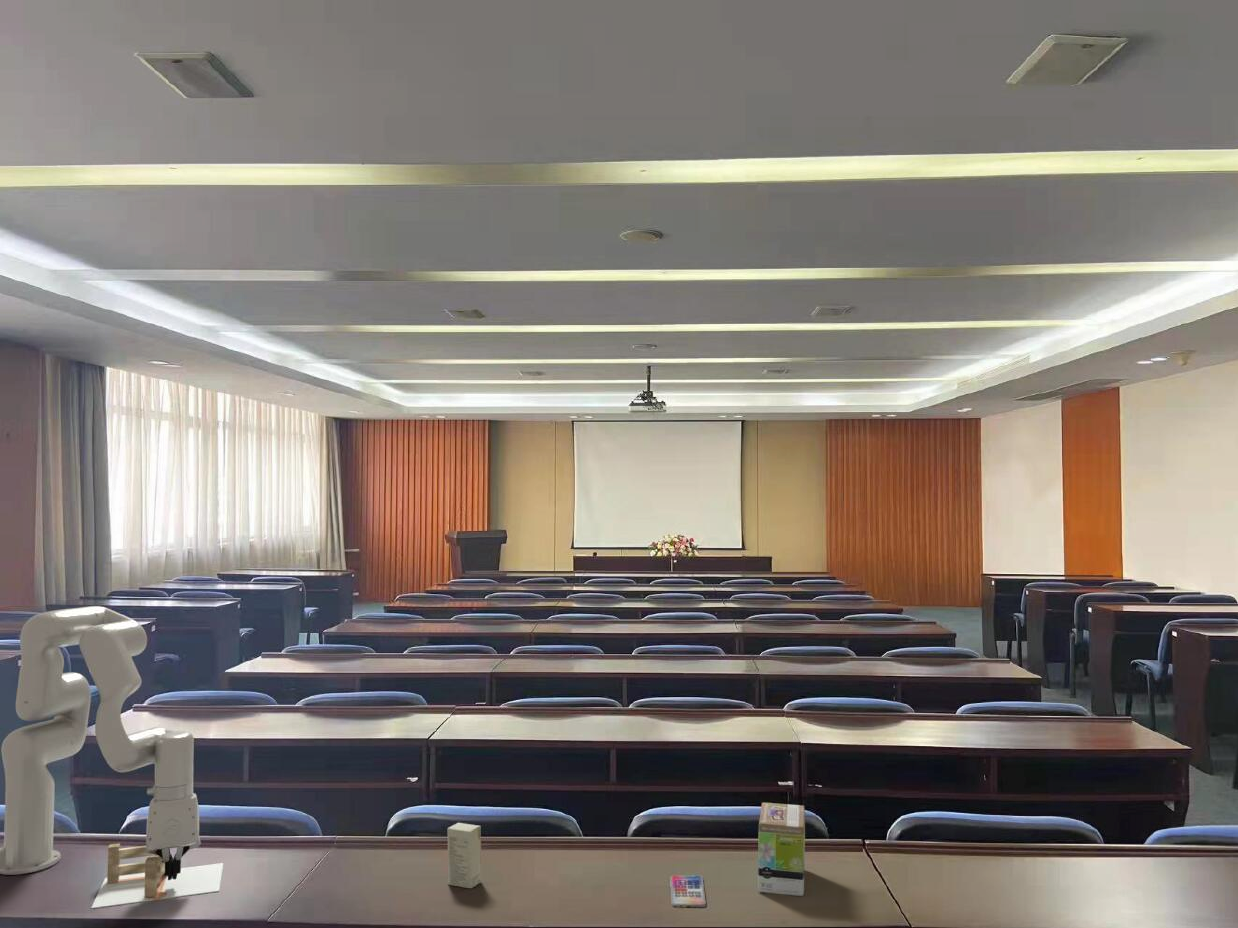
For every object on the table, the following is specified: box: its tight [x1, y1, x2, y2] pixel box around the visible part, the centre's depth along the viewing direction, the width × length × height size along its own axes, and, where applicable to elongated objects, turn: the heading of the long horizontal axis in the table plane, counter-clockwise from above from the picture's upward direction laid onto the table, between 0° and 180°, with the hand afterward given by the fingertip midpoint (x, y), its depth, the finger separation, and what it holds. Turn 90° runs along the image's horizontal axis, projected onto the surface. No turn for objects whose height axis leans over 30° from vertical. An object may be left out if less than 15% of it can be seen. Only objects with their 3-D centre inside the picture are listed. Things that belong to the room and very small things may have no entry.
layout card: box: [91, 862, 224, 910], centre depth 197 cm, size 24×16×1 cm
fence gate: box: [144, 854, 165, 898], centre depth 196 cm, size 11×2×8 cm, turn 14°
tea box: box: [757, 802, 806, 897], centre depth 200 cm, size 15×10×15 cm
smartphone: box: [669, 875, 707, 908], centre depth 194 cm, size 7×1×15 cm
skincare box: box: [446, 822, 482, 889], centre depth 199 cm, size 6×4×12 cm
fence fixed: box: [106, 842, 168, 884], centre depth 201 cm, size 12×2×9 cm, turn 110°
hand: (172, 877), depth 196 cm, fingers closed
